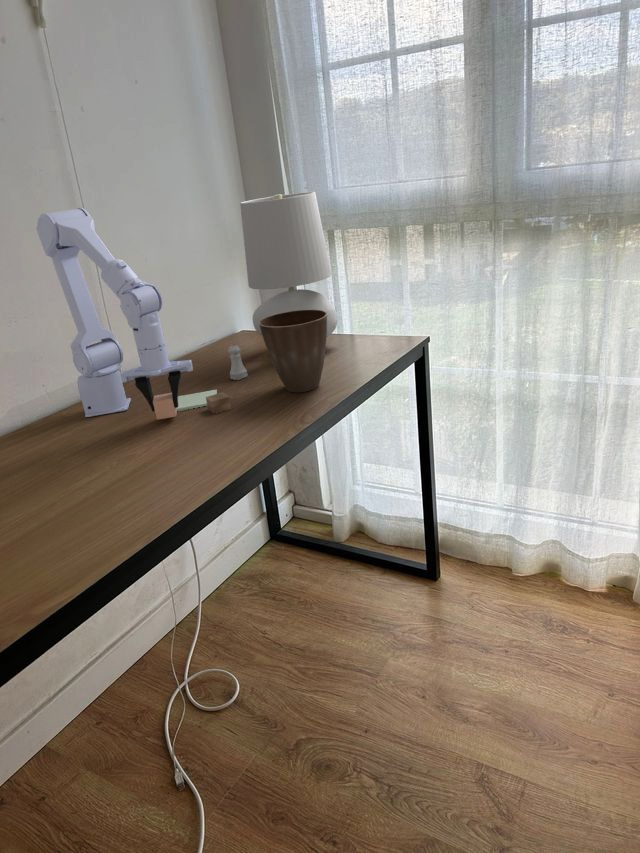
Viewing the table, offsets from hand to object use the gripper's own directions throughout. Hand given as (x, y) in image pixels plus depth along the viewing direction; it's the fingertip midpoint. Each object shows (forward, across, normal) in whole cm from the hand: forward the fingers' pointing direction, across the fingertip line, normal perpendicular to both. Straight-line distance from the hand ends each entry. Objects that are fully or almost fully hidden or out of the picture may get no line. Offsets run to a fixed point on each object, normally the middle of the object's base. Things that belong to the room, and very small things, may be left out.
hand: (165, 408), depth 142 cm
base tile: (+3, +6, +9) cm, 11 cm away
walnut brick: (+3, +11, +1) cm, 11 cm away
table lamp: (+3, +33, +37) cm, 49 cm away
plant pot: (+3, +30, +6) cm, 31 cm away
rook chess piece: (+3, +16, +22) cm, 27 cm away
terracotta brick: (+2, 0, 0) cm, 2 cm away
